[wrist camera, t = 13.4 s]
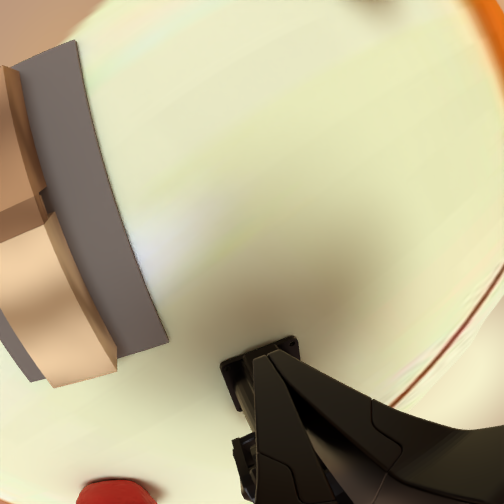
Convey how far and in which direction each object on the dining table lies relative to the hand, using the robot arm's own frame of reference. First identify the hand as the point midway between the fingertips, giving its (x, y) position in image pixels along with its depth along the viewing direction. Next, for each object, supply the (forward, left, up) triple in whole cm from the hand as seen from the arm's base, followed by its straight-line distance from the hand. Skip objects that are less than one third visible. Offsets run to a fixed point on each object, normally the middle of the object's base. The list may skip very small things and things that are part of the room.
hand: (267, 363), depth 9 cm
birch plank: (-1, +10, -12) cm, 15 cm away
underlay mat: (+3, +10, -12) cm, 16 cm away
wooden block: (+9, +10, -12) cm, 18 cm away
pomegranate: (-27, +19, -12) cm, 35 cm away
